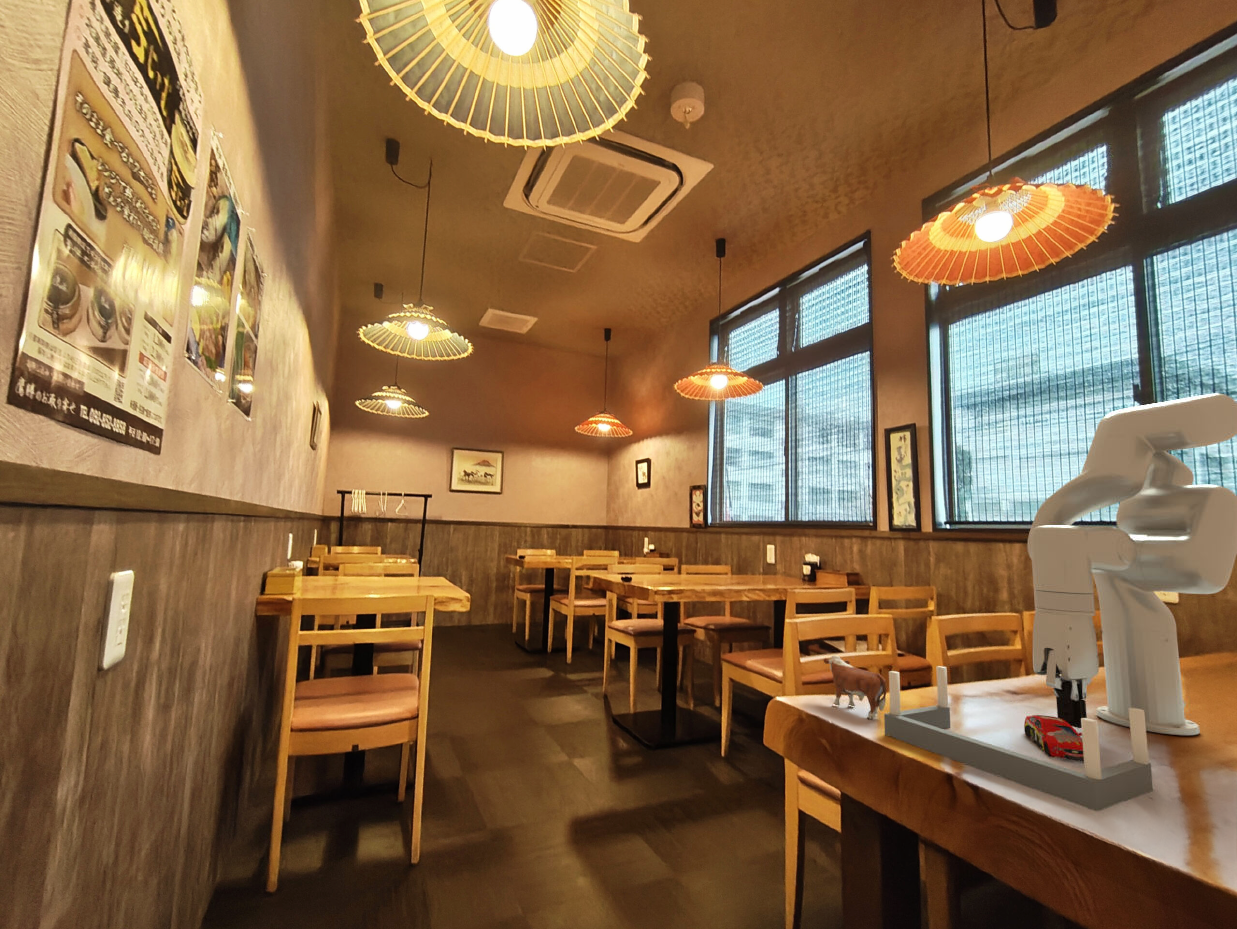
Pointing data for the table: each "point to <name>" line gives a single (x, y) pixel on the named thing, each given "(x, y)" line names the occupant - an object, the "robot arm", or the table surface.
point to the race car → (1055, 737)
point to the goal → (1055, 780)
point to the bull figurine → (857, 684)
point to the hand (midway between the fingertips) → (1072, 724)
